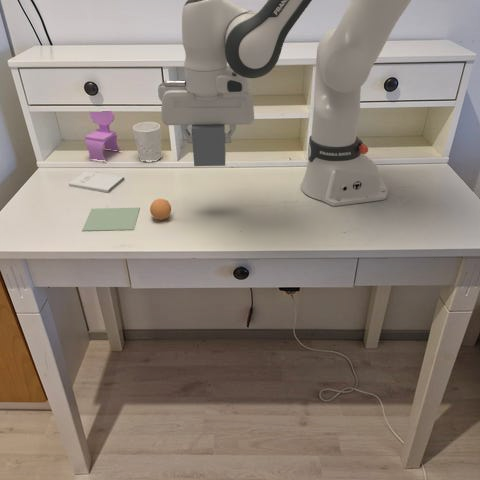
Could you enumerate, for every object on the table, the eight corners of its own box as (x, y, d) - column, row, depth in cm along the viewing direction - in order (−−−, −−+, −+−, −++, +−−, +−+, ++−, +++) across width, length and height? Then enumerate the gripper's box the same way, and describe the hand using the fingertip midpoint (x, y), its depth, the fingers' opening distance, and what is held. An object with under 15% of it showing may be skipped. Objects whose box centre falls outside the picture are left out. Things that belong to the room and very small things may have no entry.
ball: (172, 212, 116) (171, 194, 113) (171, 223, 112) (169, 205, 109) (152, 213, 116) (150, 195, 113) (150, 223, 111) (147, 205, 109)
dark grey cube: (225, 152, 111) (224, 116, 106) (225, 165, 105) (224, 128, 100) (196, 153, 111) (193, 117, 106) (194, 166, 105) (191, 128, 100)
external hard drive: (108, 195, 124) (69, 188, 128) (125, 181, 131) (87, 175, 134) (107, 189, 124) (68, 182, 127) (124, 176, 130) (86, 170, 133)
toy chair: (85, 160, 141) (75, 111, 133) (102, 149, 148) (93, 102, 140) (109, 164, 139) (100, 115, 130) (124, 152, 146) (117, 105, 137)
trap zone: (139, 208, 117) (139, 207, 117) (133, 230, 109) (133, 229, 109) (91, 209, 117) (91, 208, 117) (82, 231, 109) (81, 230, 109)
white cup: (158, 164, 138) (154, 132, 133) (133, 162, 140) (128, 130, 134) (167, 153, 145) (163, 122, 139) (143, 152, 146) (138, 121, 140)
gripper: (154, 85, 95) (161, 148, 103) (255, 84, 96) (254, 147, 103) (158, 76, 101) (165, 137, 108) (253, 75, 101) (253, 136, 109)
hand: (209, 142), depth 106 cm, fingers closed on dark grey cube, 7 cm apart
